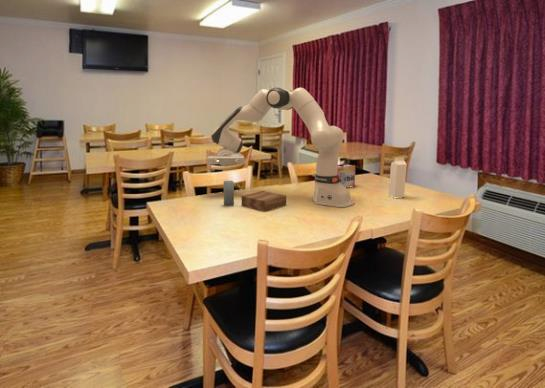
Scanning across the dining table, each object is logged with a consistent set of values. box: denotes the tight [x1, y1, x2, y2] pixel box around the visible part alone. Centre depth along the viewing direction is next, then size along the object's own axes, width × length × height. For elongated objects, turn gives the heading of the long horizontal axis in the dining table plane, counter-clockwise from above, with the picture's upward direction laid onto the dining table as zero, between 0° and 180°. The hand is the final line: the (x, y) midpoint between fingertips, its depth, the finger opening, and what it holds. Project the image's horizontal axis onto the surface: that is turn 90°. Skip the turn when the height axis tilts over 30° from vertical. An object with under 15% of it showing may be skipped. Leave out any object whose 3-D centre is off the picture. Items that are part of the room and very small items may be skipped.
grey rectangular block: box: [223, 180, 235, 207], centre depth 196 cm, size 5×5×12 cm
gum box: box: [337, 163, 356, 188], centre depth 237 cm, size 24×8×14 cm, turn 123°
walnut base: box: [241, 190, 287, 213], centre depth 196 cm, size 16×16×5 cm
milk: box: [388, 157, 408, 197], centre depth 213 cm, size 6×6×22 cm
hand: (226, 162), depth 204 cm, fingers open, 8 cm apart
